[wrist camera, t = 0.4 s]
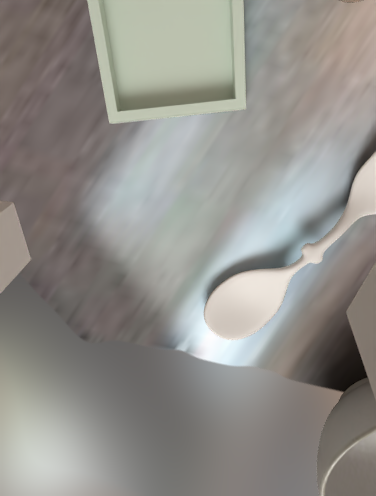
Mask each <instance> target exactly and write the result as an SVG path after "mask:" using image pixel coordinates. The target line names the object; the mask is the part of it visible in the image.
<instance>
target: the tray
mask: <svg viewBox="0 0 376 496" xmlns="http://www.w3.org/2000/svg"><path fill="white" fill-rule="evenodd" d="M87 1H88V7H89V12H90V18H91V23H92V29H93V35H94V40H95V46H96V51H97V57H98V62H99V68H100V74H101V79H102V85H103V90H104V96H105V101H106V107H107V113H108V118H109V123H112V124H116V123H125V122H135V121H144V120H153V119H163V118H172V117H181V116H191V115H200V114H209V113H219V112H228V111H237V110H244V109H246V87H245V45H244V4H243V0H87Z"/></svg>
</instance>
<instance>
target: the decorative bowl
mask: <svg viewBox="0 0 376 496" xmlns="http://www.w3.org/2000/svg"><path fill="white" fill-rule="evenodd" d="M317 482H318V491H319V496H376V400H375V397H374V394H373V391H372V388H371V385H370V382H369V379H368V377H367V378H364V379H362V380H360V381H358V382H356V383H354V384H353V385H352V386H350V387H349V388H348V389H347V390H346V391H345V392H344V393H343V394H342V396H341V398H340V400H339V402H338V403H337V404H336V406H335V407H334V408H333V410H332V411H331V413H330V414H329V416H328V418H327V420H326V422H325V425H324V427H323V430H322V433H321V437H320V441H319V447H318V455H317Z"/></svg>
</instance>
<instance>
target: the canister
mask: <svg viewBox="0 0 376 496" xmlns="http://www.w3.org/2000/svg"><path fill="white" fill-rule="evenodd" d="M339 1H342V2H347V3H354V2H359V1H362V0H339Z"/></svg>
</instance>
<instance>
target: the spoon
mask: <svg viewBox="0 0 376 496" xmlns="http://www.w3.org/2000/svg"><path fill="white" fill-rule="evenodd" d="M371 214H376V151H375V152H374V154H373V155H372V156H371V157H370V158H369V159H368V160H367V161H366V162H365V163H364V165H363V166H362V167H361V168H360V170H359V171H358V173H357V175H356V177H355V179H354V181H353V184H352V188H351V191H350V195H349V199H348V202H347V205H346V208H345V210H344V212H343V214H342V216H341V218H340V219H339V221H338V222H337V224H336V225H335V226H334V227H333V228H332V230H331V231H330V232H329V233H328V234H326V235H325V236H324V237H323V238H321V239H320V240H319V241H317V242H315V243H312V244H310V243H307V244H305V245H304V246H303V247H302V248H301V251H302V256H301V258H300V259H298V260H297V261H296V262H294V263H292V264H290V265H288V266H285V267H281V268H270V269H256V270H248V271H244V272H240V273H238V274H235V275H233V276H231V277H229V278H228V279H226V280H225V281H223V282H222V283H221V284H220V285H219V286H217V287H216V288H215V289H214V291H213V292H212V293H211V295H210V296H209V298H208V300H207V302H206V305H205V308H204V319H205V322H206V324H207V326H208V327H209V329H210V330H211V331H212V332H213V333H215V334H216V335H217V336H219V337H221V338H223V339H227V340H238V339H242V338H245V337H248V336H250V335H252V334H254V333H255V332H257V331H258V330H260V329H261V328H262V327H263V326H265V325H266V324H267V323H268V322H269V321H270V320H271V318H272V317H273V316H274V315H275V314H276V313H277V311H278V310H279V308H280V306H281V304H282V302H283V300H284V297H285V294H286V291H287V287H288V284H289V282H290V279H291V278H292V276H293V275H294V274H295V273H296V272H297V271H298V270H299V269H301V268H302V267H303V266H305V265H306V264H308V263H316V264H317V263H319V262H321V261H322V259H323V253H324V252H325V250H326V249H327V248H328V247H329V246H330V245H331V244H332V243H334V242H335V241H336V240H337V239H338V238H339V237H340V236H341V235H342V234H343V233H344V232H345V231H346V230H347V229H348V228H349V227H350V226H351V225H352V224H353V223H354V222H355V221H356V220H358V219H359V218H361V217H363V216H366V215H371Z"/></svg>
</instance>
